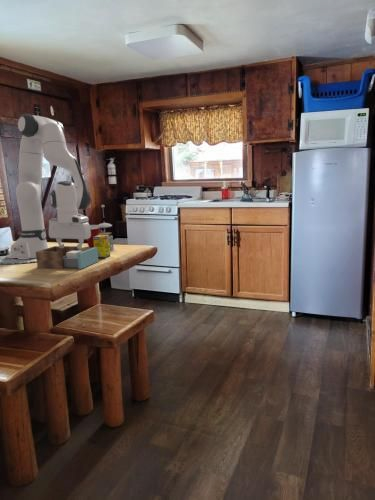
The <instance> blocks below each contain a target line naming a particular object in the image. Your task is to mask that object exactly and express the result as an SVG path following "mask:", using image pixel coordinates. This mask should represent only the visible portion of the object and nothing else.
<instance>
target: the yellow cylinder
mask: <svg viewBox="0 0 375 500" xmlns="http://www.w3.org/2000/svg"><path fill="white" fill-rule="evenodd" d="M109 235H110V234H109ZM109 235H98V236H95V237H93V240H94V247H97V252H98V259H107V258H109V257H111V252H110V245H109ZM94 247H93V248H94Z"/></svg>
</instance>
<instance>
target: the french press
mask: <svg viewBox="0 0 375 500" xmlns="http://www.w3.org/2000/svg"><path fill="white" fill-rule="evenodd" d="M100 208H105V204H101V206H100ZM104 214H105V213H104V210H102V215H103V217H105V215H104ZM97 225H98V226H97V227H98V228H100V233H99V235H109V245H110V253H112V252H116V249H115V248H114V239H113V238H114V237H113V235H112V234H113V233H112V232H110V231H108V232H106V228H111V227H113V224H111V223H109V222H108V223H107V222H102V223H99V224H97ZM102 229H103V230H102Z"/></svg>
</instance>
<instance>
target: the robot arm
mask: <svg viewBox="0 0 375 500" xmlns="http://www.w3.org/2000/svg"><path fill="white" fill-rule="evenodd" d="M17 130H18V132H19V134H20V135H22V136H21V138H20V139H21V141H20V145H19V155H18V185H17V186H16V188H15V196H16V202H17V206H18V207H17V208H18V211H19V217H20V218H19V219H20V224H21V225H20V226H21V230H20V231H17V234H18V235H19V238H18V239H16V241H15V242H13V243H12V244H11V246H10V249H9V251H10V253H9V254H7V255H6V256H5V258H6V257H7V258H6V259H13V258H18V259H17V260H30V258H31V259H36V252H37V251H40V250H44V249H47V248H49V245H48V242H47V231H46V228H45V220H44V213H43V208H42V201H41V200H42V199H41V195H42V183H43V182H42V180H43V178H42V175H43V174H42V173H43V161H44V159H45V160H46V161H47V162H48V163H49V164H51V165H53V166H54V167H55V166H56V167H59V168H62V169H64V170H66V171H68V172H69V173H70V174H71V176H72V180H73V181H70V180H69V181H66V180H62V181H61V180H60V181H57V182H56V185H55V189H53V190H52V191H51V192H49V205H50V206H51V207H52V208H53V209H54V210H57V213H56V214H57V217H51V218H50V219H49V220H48V237H49V238H50V239H55V240H56V242H57V244H58V246H59V248H64V246H65V243H63V242H62V240H64V239H66V240H68V239H69V240H78V244H77V245H76V246H77V249H79V250H81V249H82V248H83V243H84V242H85V241H84V240H86V239H89V238H90V237H91V230H90V225H91V224H90V223H89V221H90V220H89V217H88V216H86V215H83V214H82V213H79V210H86V209H87V208H89V206H90V205H91V203H92V196H91V193H90V191H89V189H88V187H87V184H86V181H85V179H84V176H83V172H82V170H81V167H80V164H79V162H78V160H77V158H76V157H75V156H74V155H72V153H71V152H70V151H69V149H68V147H67V142H66V137H65V128H64V126H63V123H62V122H60V121H59V120H56V119H51V118H49V117H46V116H39V115H35V114H34V115H33V114H32V113H23V114H22V115H20V116H19V118H18V120H17ZM43 158H44V159H43Z"/></svg>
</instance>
